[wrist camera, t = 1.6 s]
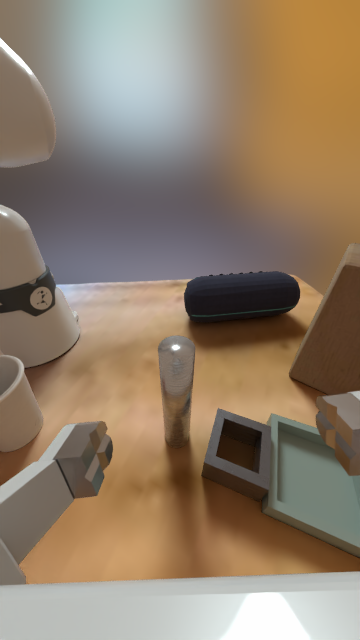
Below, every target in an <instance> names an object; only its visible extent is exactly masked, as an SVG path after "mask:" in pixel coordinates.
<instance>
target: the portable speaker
mask: <svg viewBox="0 0 360 640" xmlns="http://www.w3.org/2000/svg"><path fill="white" fill-rule="evenodd" d="M299 298H300V288H299V285H298V282H297V281H296V280H295V279H294V278H293V277H291V276H290V275H288V274H285V273H282V272H277V271H275V272H262V271H260V272H259V273H253V272H250V273H245V274H243V273H239V274H232V273H231V274H229V275H223V274H220V275H216V276H213V275H209V276H201V277H197V278H195V279H193V280H191V281H190V282H188V283H187V288H186V290H185V293H184V302H185V308H186V312H187V313H188V316H190V320H191V321H194V322H215V321H224V320H234V319H244V318H253V317H263V316H273V315H279V314H283V313H286V312H289V311H290V310H291V309H293V308H294V307H295V306H296V305H297V303H298V301H299Z"/></svg>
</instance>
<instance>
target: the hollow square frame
mask: <svg viewBox="0 0 360 640" xmlns="http://www.w3.org/2000/svg"><path fill="white" fill-rule="evenodd" d="M221 434H222V435H225V436H227V437H230V438H233V439H235V440H238V441H240V442H243V443H246V444H248V445H251V446H254V456H253V467H252V471H251V470H248V469H246V468H243V467H241V466H239V465H236V464H234V463H231V462H229V461H227V460H224V459H222V458H219V457H217V456H216V453H217V448H218V444H219V439H220V435H221ZM270 454H271V426H268V425H265V424H262V423H259V422H256V421H253V420H250V419H248V418H245V417H242V416H239V415H236V414H233V413H230V412H227V411H225V410H222V409H219V408H218V410H217V414H216V418H215V422H214V426H213V430H212V433H211V437H210V441H209V445H208V449H207V453H206V457H205V460H204V465H203V470H202V475H201V476H203V477H205V478H208V479H210V480H212V481H214V482H216V483H219V484H221V485H223V486H225V487H227V488H230V489H232V490H234V491H236V492H239V493H241V494H243V495H245V496H247V497H250V498H252V499H254V500H256V501H258V502H260V500H261V499H262V498H263V497H264V496H265V494H266V493H267V492H268V491H269V481H270Z"/></svg>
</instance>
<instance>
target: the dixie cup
mask: <svg viewBox="0 0 360 640" xmlns="http://www.w3.org/2000/svg"><path fill="white" fill-rule="evenodd" d="M42 425H43V415H42V413H41V410H40V408H39V406H38V403H37V401H36V399H35V396H34V394H33V392H32V389H31V387H30V385H29V382H28V380H27V378H26V375H25V373H24V365H23V363H22V361H21V360H19V359H18V358H16V357H13V356H8V355H0V451H2V452H10V451H14V450H17V449H19V448H21V447H23V446H25V445H26V444H28V443H29V442H30V441H31V440H33V439H34V438H35V436H36V435H37V434H38V433H39V431H40V429H41V427H42Z"/></svg>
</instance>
